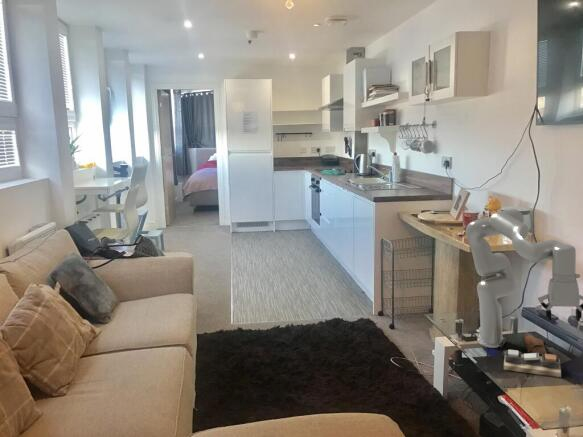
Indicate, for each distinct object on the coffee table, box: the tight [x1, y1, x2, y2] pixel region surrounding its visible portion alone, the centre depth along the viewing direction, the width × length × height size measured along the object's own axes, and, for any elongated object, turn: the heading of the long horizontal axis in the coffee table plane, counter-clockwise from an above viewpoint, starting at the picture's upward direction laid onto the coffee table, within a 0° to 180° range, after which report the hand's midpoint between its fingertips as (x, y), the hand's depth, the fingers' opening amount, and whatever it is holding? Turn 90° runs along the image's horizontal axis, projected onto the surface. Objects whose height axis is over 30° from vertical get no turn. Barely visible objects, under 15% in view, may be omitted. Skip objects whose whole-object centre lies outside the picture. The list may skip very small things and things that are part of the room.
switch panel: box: [503, 349, 562, 378], centre depth 194 cm, size 21×12×4 cm, turn 63°
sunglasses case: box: [523, 333, 548, 356], centre depth 208 cm, size 18×7×7 cm
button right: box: [545, 353, 557, 362], centre depth 190 cm, size 4×4×2 cm
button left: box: [508, 349, 520, 358], centre depth 197 cm, size 4×4×2 cm
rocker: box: [523, 352, 539, 360], centre depth 194 cm, size 6×4×1 cm
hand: (563, 319), depth 176 cm, fingers open, 9 cm apart
